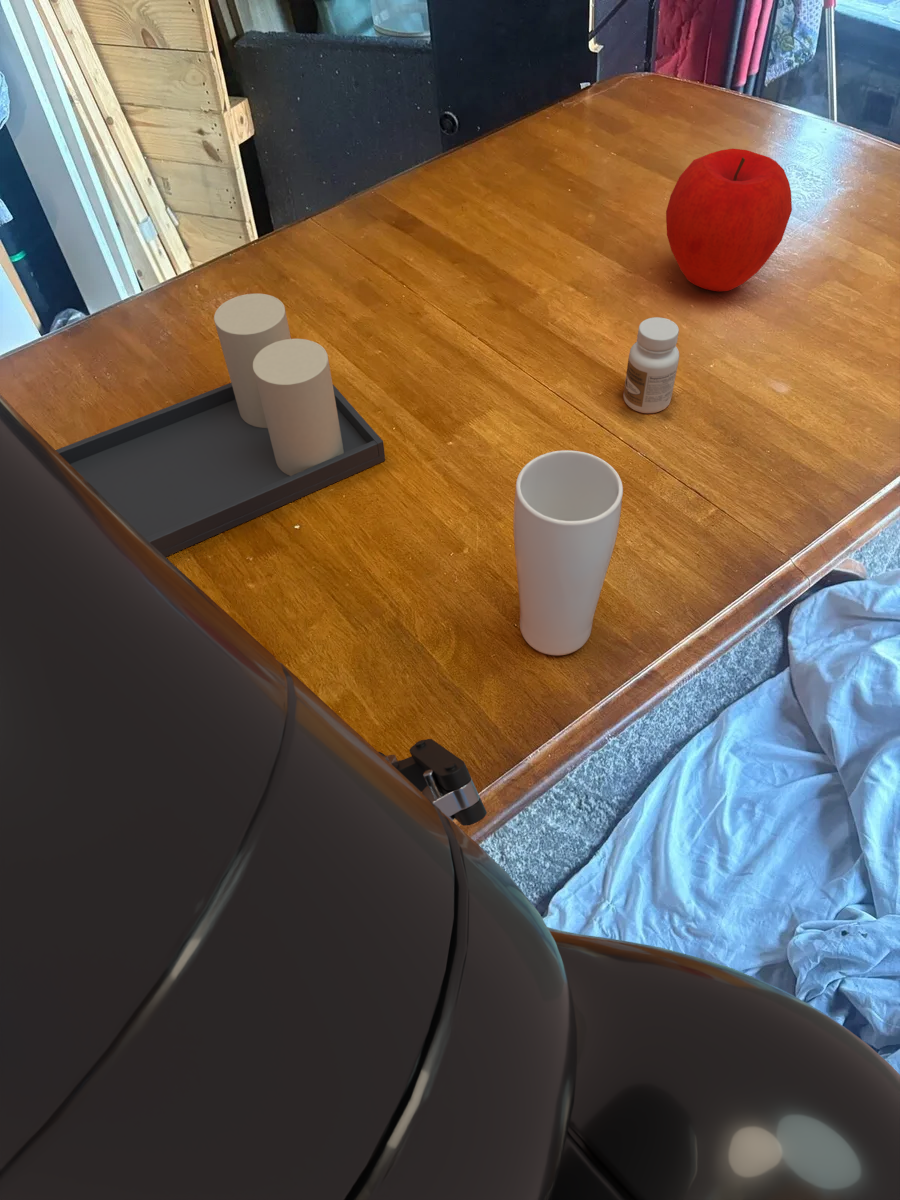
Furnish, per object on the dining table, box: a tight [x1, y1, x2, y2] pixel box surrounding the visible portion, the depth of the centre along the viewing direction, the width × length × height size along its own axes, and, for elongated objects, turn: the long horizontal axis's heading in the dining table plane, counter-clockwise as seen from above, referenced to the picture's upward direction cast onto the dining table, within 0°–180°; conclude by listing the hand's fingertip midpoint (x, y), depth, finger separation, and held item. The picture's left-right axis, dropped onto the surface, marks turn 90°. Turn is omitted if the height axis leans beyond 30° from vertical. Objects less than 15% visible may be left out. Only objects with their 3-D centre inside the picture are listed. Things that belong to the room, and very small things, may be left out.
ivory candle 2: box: [253, 338, 344, 476], centre depth 75 cm, size 6×6×10 cm
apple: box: [665, 148, 793, 292], centre depth 89 cm, size 12×12×13 cm
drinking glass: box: [512, 449, 624, 656], centre depth 61 cm, size 7×7×15 cm
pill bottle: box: [622, 316, 680, 414], centre depth 80 cm, size 4×4×8 cm
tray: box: [55, 382, 386, 558], centre depth 78 cm, size 25×15×2 cm, turn 122°
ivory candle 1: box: [213, 293, 292, 428], centre depth 79 cm, size 6×6×10 cm
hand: (287, 811), depth 45 cm, fingers open, 8 cm apart
